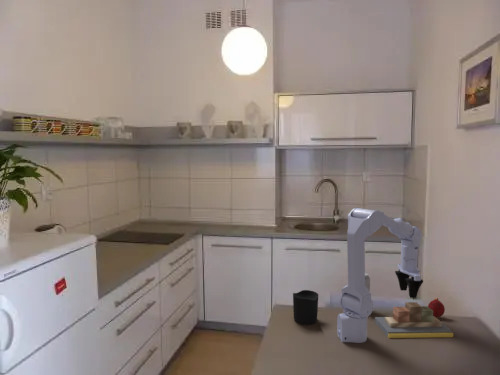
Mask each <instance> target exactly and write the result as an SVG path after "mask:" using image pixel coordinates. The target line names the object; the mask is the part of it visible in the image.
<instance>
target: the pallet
mask: <svg viewBox="0 0 500 375" xmlns="http://www.w3.org/2000/svg"><path fill="white" fill-rule="evenodd" d="M404 305H405V306H404V307H405V308H406V309H408V310H409V311H410V318H409V323H398V322H397V321H396V320H395V319H393V316H384V317H385V322H386V323H387V324H388V325H389V326H390V327H442V323H443V321H440V319H439V318H436V317H434V316H433V322H421V317H422V306H423V305H421V304H419V303H418V302H417V301H416V302H414V301H413V302H412V301H411V302H405V303H404Z"/></svg>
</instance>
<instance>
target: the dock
mask: <svg viewBox="0 0 500 375" xmlns="http://www.w3.org/2000/svg"><path fill="white" fill-rule="evenodd" d="M385 317H386V316H374V323H375V324H376V325H377V326H378V328H380V330H381V331H382V332H383V333H384V334H385V336H386V337H387V338H388V339H403V338H404V339H411V338H412V339H414V338H418V339H419V338H421V339H422V338H454V332H453V330H452V329H451V328H449V327H448V326H447V325H445V324H444V323H443V322H442V327H390V326H389V325H388V324H387V323H386V322H385Z"/></svg>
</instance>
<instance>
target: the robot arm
mask: <svg viewBox="0 0 500 375" xmlns="http://www.w3.org/2000/svg"><path fill="white" fill-rule="evenodd" d="M382 226H383V227H385V228H388V231H389V233H391V234H392V235H394V236H396V237H397V238H398V239H399V240H401V241H400V242H401V243H400V244H401V245H400V246H401V248H400V263H398V264H397V270H395V271H394V272H395V275H396V278H397V280H398V284H399V288H400V289H399V290H400V291H404V292H405V291H407V290H408V295H409V298H411V299H416V298H417V296H418V292H419V290H420V288H421V286H422V284H423V283H424V280H423V279H422V275H421V274H420V273H421V270H420V269H419V268H418V259H419V258H418V257H419V255H418V254H419V247H420V245H421V240H422V237H423V232H422V230H421V229H420V228H419V227H418V226H414V225H411V223H410V222H407V221H404V218H402V217H398V218H392V217H390V216H388V215H387V214H385V213H384V212H383V211H380V210H377V209H375V210H374V209H366V208H360V207H354V208H352V209H351V211H350V212H349V213H348V214H347V228H348V229H347V231H346V232H347V233H346V241H347V242H346V244H347V246H346V247H347V249H346V250H347V251H346V252H347V284H346V285H345V286H343V287H342V288H341V294H340V297H339V298H340V299H339V304H340V307H341V308H342V309H343V310H342V311H343V312H342V313H338V314H337V318H336V335H337V336H338V338H339V340H340V342H341V343H354V344H355V343H357V344H362V343H365V342H367V338H368V317H369V316H370V315H371V314H372V312H373V311H374V302H373V300H372V293H371V291H370V292H369V290H368V289H367V288H366V286H365V273H366V263H365V262H366V255H365V253H366V252H365V249H366V248H365V245H366V244H365V240H366V239H367V237H370V236H372V235H374V233H375V232H377V231H378V230H380V228H381V227H382Z"/></svg>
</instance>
